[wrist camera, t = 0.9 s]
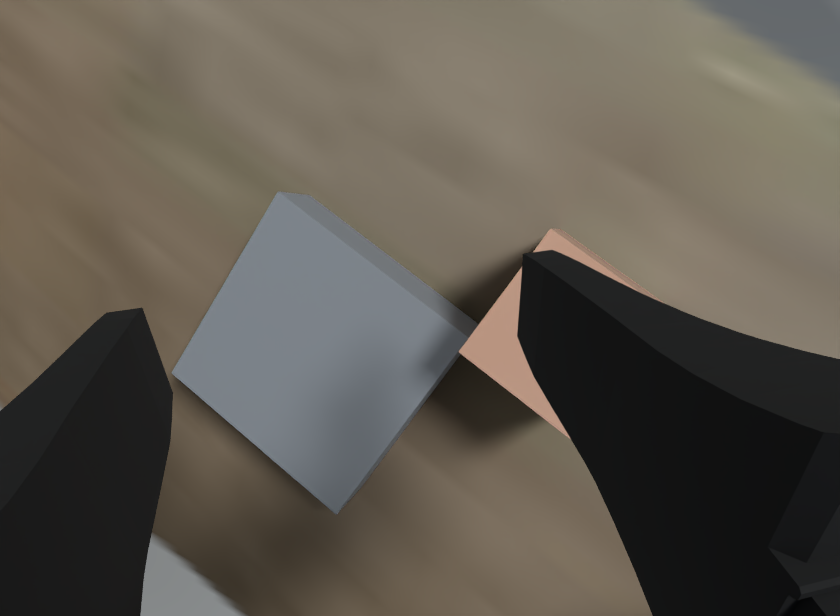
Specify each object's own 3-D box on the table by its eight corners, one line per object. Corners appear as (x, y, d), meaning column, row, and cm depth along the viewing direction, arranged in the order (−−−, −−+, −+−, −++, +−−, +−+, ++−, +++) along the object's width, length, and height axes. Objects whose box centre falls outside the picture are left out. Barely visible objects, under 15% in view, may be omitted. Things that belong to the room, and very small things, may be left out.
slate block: (483, 324, 24) (468, 337, 21) (364, 483, 26) (336, 514, 24) (313, 195, 25) (277, 191, 23) (215, 358, 28) (171, 373, 25)
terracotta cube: (665, 303, 22) (687, 326, 16) (585, 398, 23) (581, 447, 18) (561, 229, 22) (550, 228, 17) (488, 325, 24) (458, 352, 18)
